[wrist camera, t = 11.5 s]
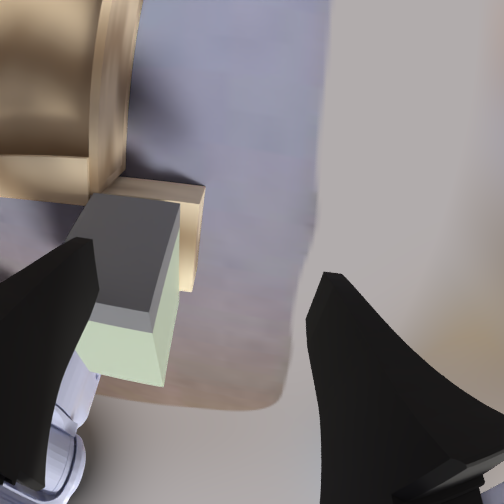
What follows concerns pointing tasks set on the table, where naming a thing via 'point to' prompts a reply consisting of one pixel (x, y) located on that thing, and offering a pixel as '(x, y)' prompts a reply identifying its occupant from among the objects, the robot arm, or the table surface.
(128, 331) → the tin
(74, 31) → the wooden tray
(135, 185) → the oak stand
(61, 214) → the table surface
